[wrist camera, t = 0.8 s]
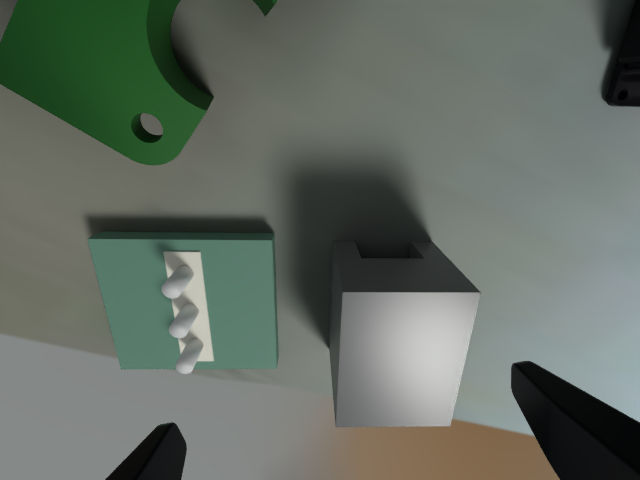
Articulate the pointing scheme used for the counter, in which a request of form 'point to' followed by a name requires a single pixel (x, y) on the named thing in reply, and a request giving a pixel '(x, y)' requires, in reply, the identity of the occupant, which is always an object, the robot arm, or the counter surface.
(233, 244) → the pin board
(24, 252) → the counter surface
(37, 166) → the counter surface
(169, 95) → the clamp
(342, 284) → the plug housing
